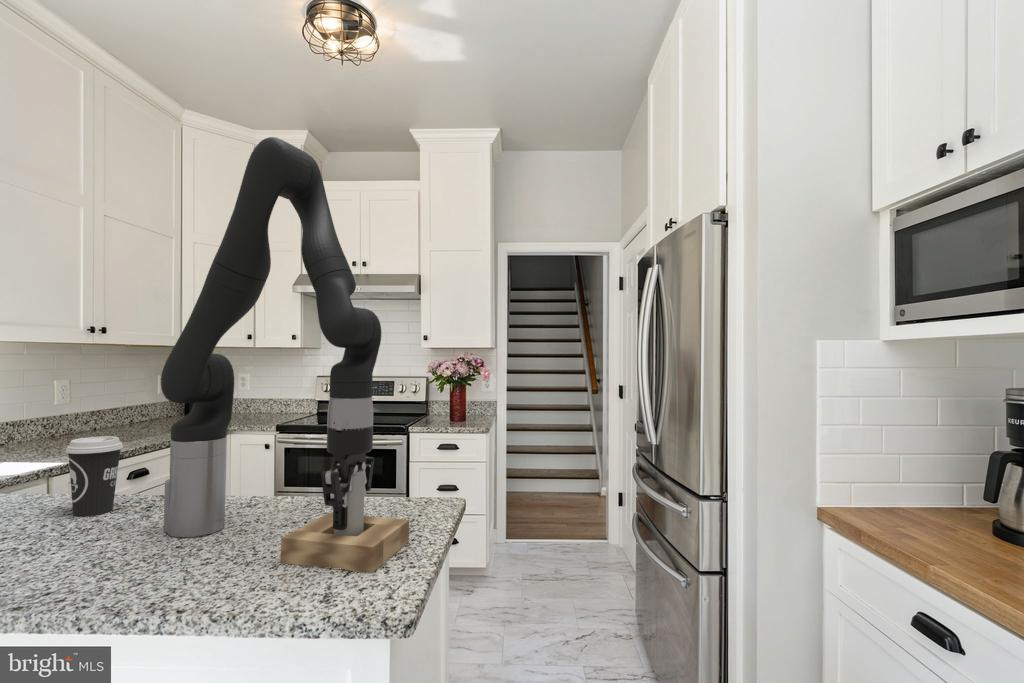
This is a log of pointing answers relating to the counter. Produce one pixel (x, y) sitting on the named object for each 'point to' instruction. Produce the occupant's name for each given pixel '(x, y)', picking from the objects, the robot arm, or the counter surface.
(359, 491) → the beverage can
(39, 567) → the counter surface
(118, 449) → the coffee cup
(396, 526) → the socket
